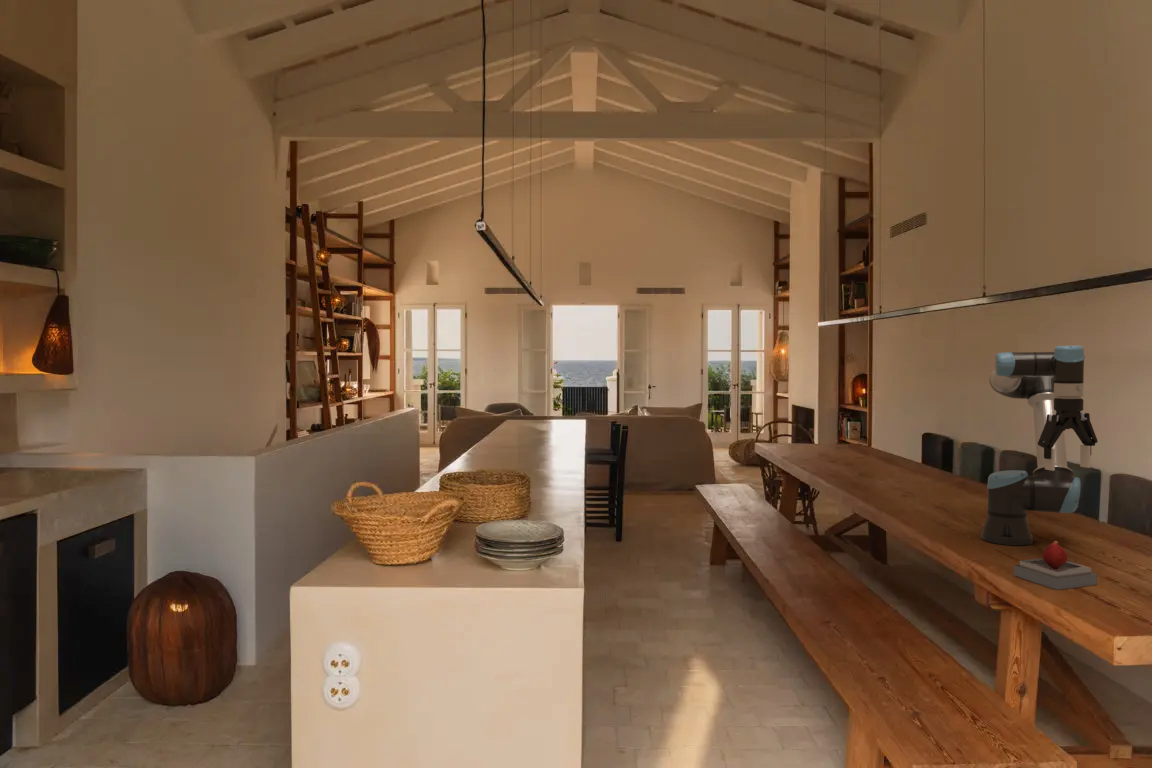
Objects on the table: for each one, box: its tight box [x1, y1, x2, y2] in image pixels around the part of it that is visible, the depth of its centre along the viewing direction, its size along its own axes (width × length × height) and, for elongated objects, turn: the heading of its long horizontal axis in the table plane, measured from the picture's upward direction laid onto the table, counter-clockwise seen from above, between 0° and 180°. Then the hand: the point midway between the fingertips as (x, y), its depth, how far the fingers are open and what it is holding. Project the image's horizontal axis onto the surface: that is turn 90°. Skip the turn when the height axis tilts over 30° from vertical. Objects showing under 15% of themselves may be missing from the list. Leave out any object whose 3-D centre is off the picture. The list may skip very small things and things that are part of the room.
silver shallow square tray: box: [1013, 557, 1098, 591], centre depth 220 cm, size 14×14×4 cm
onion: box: [1042, 540, 1068, 569], centre depth 219 cm, size 6×6×8 cm
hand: (1067, 468), depth 235 cm, fingers open, 13 cm apart
